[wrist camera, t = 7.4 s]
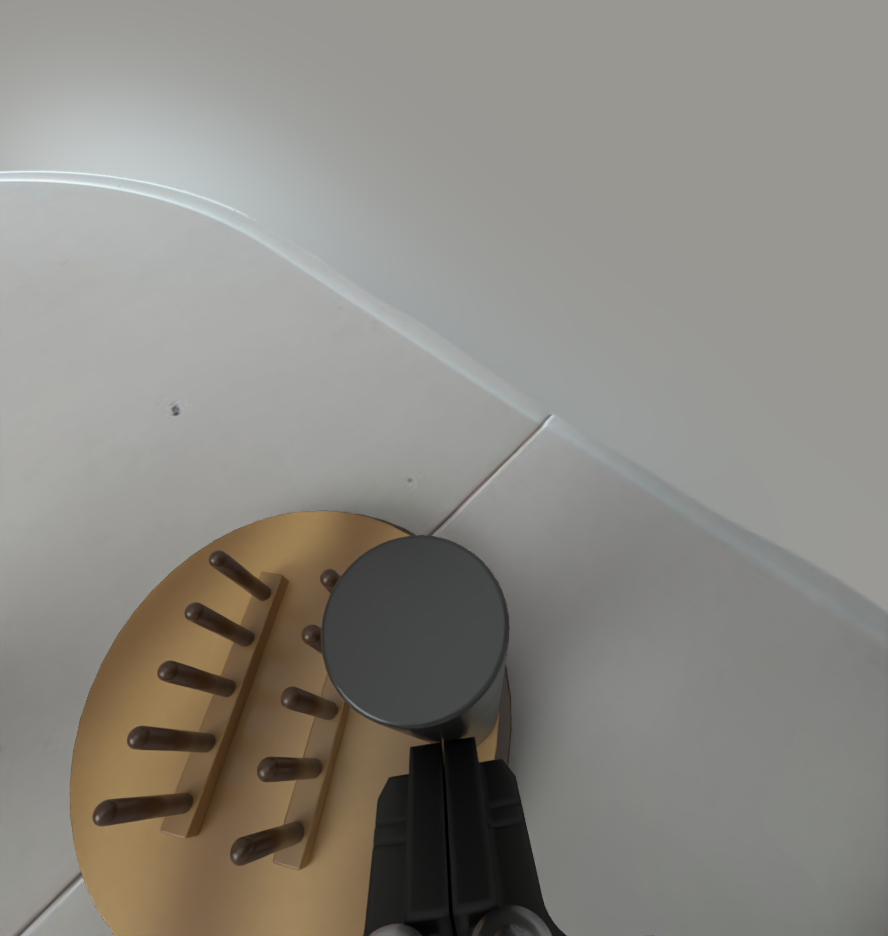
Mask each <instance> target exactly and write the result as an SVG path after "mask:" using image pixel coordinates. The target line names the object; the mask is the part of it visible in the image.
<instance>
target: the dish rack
mask: <svg viewBox="0 0 888 936" xmlns="http://www.w3.org/2000/svg"><path fill="white" fill-rule="evenodd" d="M508 642H509V614H508V609H507V604H506V601H505V598H504V595H503V592H502V589H501V587H500V585H499V583H498V581H497V579H496V578H495V576H494V575H493V573H492V572H491V570H490V569H489V568H488V567H487V566H486V565H485V563H484V562H483V561H482V560H481V559H479V558H478V557H477V556H476V555H475V554H474V553H472V552H471V551H469V550H468V549H466V548H465V547H463V546H461V545H459V544H457V543H455V542H452V541H449V540H446V539H443V538H438V537H434V536H423V535H418V536H410V535H408V534H406V533H404V532H403V531H401V530H399V529H397V528H395V527H393V526H391V525H389V524H386V523H383V522H381V521H378V520H375V519H372V518H369V517H365V516H361V515H356V514H351V513H347V512H335V511H302V512H296V513H289V514H283V515H278V516H274V517H271V518H267V519H263V520H260V521H257V522H254V523H252V524H249V525H246V526H244V527H241V528H239V529H236V530H234V531H232V532H230V533H228V534H226V535H225V536H223V537H221V538H219V539H217V540H215V541H213V542H212V543H210V544H208V545H207V546H205V547H204V548H202V549H201V550H199V551H198V552H196V553H195V554H193V555H192V556H191V557H189V558H188V559H187V560H186V561H184V562H183V563H182V564H181V565H179V566H178V567H177V568H176V569H174V570H173V571H172V572H171V573H170V574H169V575H168V576H167V577H166V578H165V579H164V580H163V581H162V582H160V583H159V584H158V585H157V586H156V587H155V588H154V589H153V590H152V591H151V593H150V594H149V595H148V596H147V597H146V598H145V600H144V601H143V602H142V603H141V604H140V605H139V607H138V608H137V609H136V610H135V611H134V613H133V614H132V616H131V617H130V618H129V620H128V621H127V623H126V624H125V625H124V627H123V628H122V630H121V631H120V633H119V634H118V635H117V637H116V639H115V641H114V642H113V644H112V646H111V648H110V650H109V651H108V653H107V655H106V657H105V658H104V660H103V662H102V664H101V666H100V669H99V671H98V673H97V675H96V678H95V680H94V682H93V684H92V686H91V689H90V691H89V694H88V697H87V700H86V703H85V706H84V709H83V712H82V715H81V718H80V723H79V727H78V732H77V736H76V741H75V745H74V750H73V758H72V767H71V776H70V818H71V825H72V833H73V840H74V848H75V851H76V855H77V858H78V862H79V866H80V869H81V873H82V876H83V879H84V882H85V884H86V886H87V888H88V891H89V893H90V895H91V897H92V900H93V902H94V904H95V906H96V908H97V910H98V912H99V913H100V915H101V916H102V918H103V919H104V921H105V922H106V924H107V925H108V927H109V928H110V930H111V931H112V933H113V934H114V936H363V934H364V928H365V919H366V909H367V899H368V889H369V879H370V870H371V860H372V850H373V840H374V830H375V827H376V826H375V820H376V811H377V801H378V797H379V796H380V794H381V792H382V790H383V788H384V786H385V784H386V782H387V780H388V778H389V777H393V776H399V775H405V774H409V753H410V747H413V746H419V745H426V744H432V743H438V742H442V744H443V749H444V742H446V741H452V740H456V739H462V738H468V737H474V736H475V740H476V746H477V752H478V759H479V762H484V761H491V760H495V755H496V750H497V737H498V722H499V705H500V698H501V691H502V684H503V677H504V670H505V663H506V656H507V649H508Z"/></svg>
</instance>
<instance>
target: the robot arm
mask: <svg viewBox="0 0 888 936" xmlns="http://www.w3.org/2000/svg"><path fill="white" fill-rule="evenodd" d="M375 826H376V827H375V830H374V840H373V850H372V860H371V870H370V879H369V889H368V899H367V909H366V919H365V928H364V934H363V936H566V935H565V934H564V933H563V932H562V931H561V930H560V929H559V928H558V927H557V926H556V925H555V923H554V922H553V921H552V919H551V917H550V916H549V914H548V912H547V910H546V908H545V905H544V902H543V898H542V894H541V889H540V885H539V880H538V876H537V871H536V867H535V862H534V858H533V853H532V849H531V844H530V840H529V835H528V831H527V826H526V822H525V817H524V813H523V808H522V804H521V799H520V794H519V790H518V785H517V781H516V776H515V775H514V774H513V773H512V771H511V770H510V769H509V767H508V766H507V765H506V763H505V762H504V761H503V759H497V760H491V761H484V762H479V759H478V752H477V746H476V740H475V736H474V737H468V738H462V739H456V740H452V741H446V742H444V749H443V744H442V742H438V743H432V744H426V745H419V746H413V747H410V753H409V774H405V775H399V776H393V777H389V778H388V780H387V782H386V784H385V786H384V788H383V790H382V792H381V794H380V796H379V797H378V801H377V811H376V820H375Z"/></svg>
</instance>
